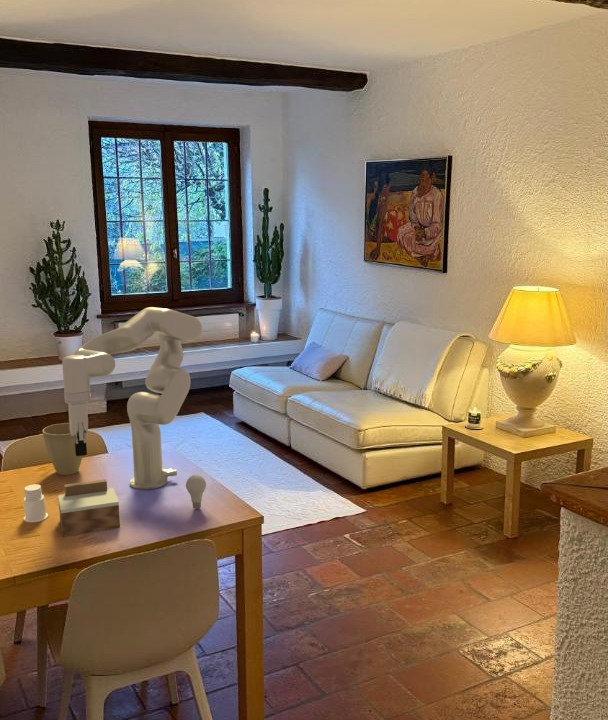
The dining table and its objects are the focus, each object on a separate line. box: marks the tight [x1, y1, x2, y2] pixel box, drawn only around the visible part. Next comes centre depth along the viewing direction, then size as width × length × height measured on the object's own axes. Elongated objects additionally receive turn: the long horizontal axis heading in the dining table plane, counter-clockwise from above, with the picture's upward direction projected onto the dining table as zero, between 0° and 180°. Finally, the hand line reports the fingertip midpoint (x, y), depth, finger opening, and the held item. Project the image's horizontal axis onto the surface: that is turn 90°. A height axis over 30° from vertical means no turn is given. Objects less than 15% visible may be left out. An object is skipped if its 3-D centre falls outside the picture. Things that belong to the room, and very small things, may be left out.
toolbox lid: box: [57, 478, 120, 513], centre depth 218 cm, size 16×12×4 cm
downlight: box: [23, 483, 49, 523], centre depth 223 cm, size 8×7×10 cm
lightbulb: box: [185, 474, 207, 510], centre depth 229 cm, size 6×6×11 cm
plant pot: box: [42, 422, 87, 476], centre depth 262 cm, size 15×15×16 cm
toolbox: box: [58, 503, 121, 538], centre depth 219 cm, size 16×12×7 cm
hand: (81, 454), depth 226 cm, fingers closed
